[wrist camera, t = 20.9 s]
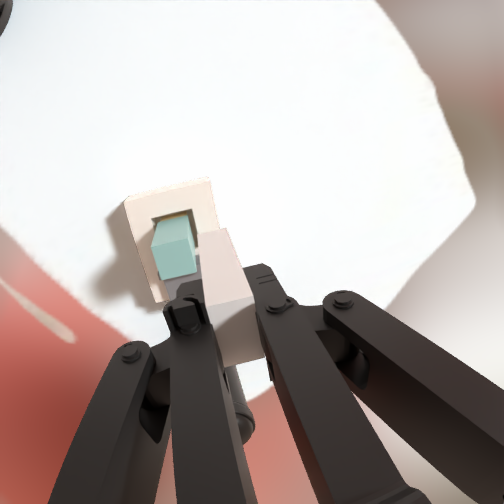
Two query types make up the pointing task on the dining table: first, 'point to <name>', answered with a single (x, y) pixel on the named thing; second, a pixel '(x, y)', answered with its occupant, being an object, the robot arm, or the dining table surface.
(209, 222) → the socket block
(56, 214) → the dining table surface
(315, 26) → the dining table surface
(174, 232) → the teal block
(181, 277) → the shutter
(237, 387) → the water bottle
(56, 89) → the dining table surface
